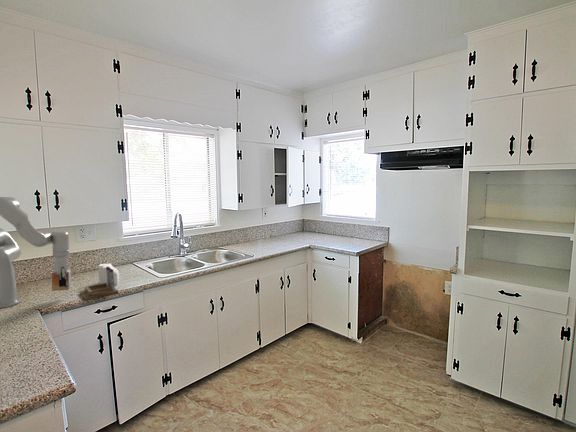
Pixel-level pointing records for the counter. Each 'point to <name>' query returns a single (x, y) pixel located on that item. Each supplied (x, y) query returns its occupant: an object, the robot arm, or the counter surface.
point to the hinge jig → (100, 288)
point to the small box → (56, 281)
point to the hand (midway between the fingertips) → (61, 284)
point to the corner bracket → (104, 274)
